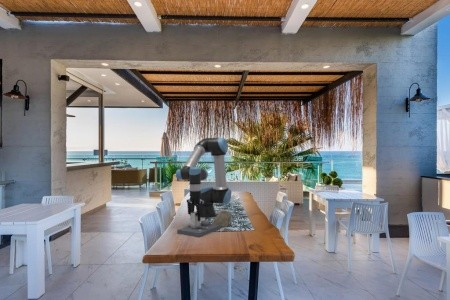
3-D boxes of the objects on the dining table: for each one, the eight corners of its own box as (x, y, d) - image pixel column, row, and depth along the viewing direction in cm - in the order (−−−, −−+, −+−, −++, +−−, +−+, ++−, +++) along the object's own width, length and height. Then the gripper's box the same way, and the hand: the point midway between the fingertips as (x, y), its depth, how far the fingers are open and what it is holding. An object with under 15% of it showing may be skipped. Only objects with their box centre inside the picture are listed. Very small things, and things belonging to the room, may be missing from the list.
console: (177, 233, 216) (177, 225, 216) (199, 226, 236) (199, 219, 236) (199, 237, 206) (199, 229, 206) (220, 229, 227) (220, 221, 227)
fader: (190, 227, 219) (190, 212, 219) (196, 226, 224) (195, 211, 224) (195, 228, 217) (195, 213, 217) (200, 226, 222) (200, 211, 222)
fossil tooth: (212, 227, 238) (232, 224, 239) (212, 228, 232) (233, 226, 233) (210, 211, 238) (230, 208, 240) (210, 212, 232) (231, 209, 233)
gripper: (181, 190, 222) (182, 225, 222) (201, 191, 213) (202, 228, 213) (189, 189, 228) (189, 223, 228) (208, 190, 219) (209, 225, 219)
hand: (195, 225), depth 220 cm, fingers closed on fader, 3 cm apart
